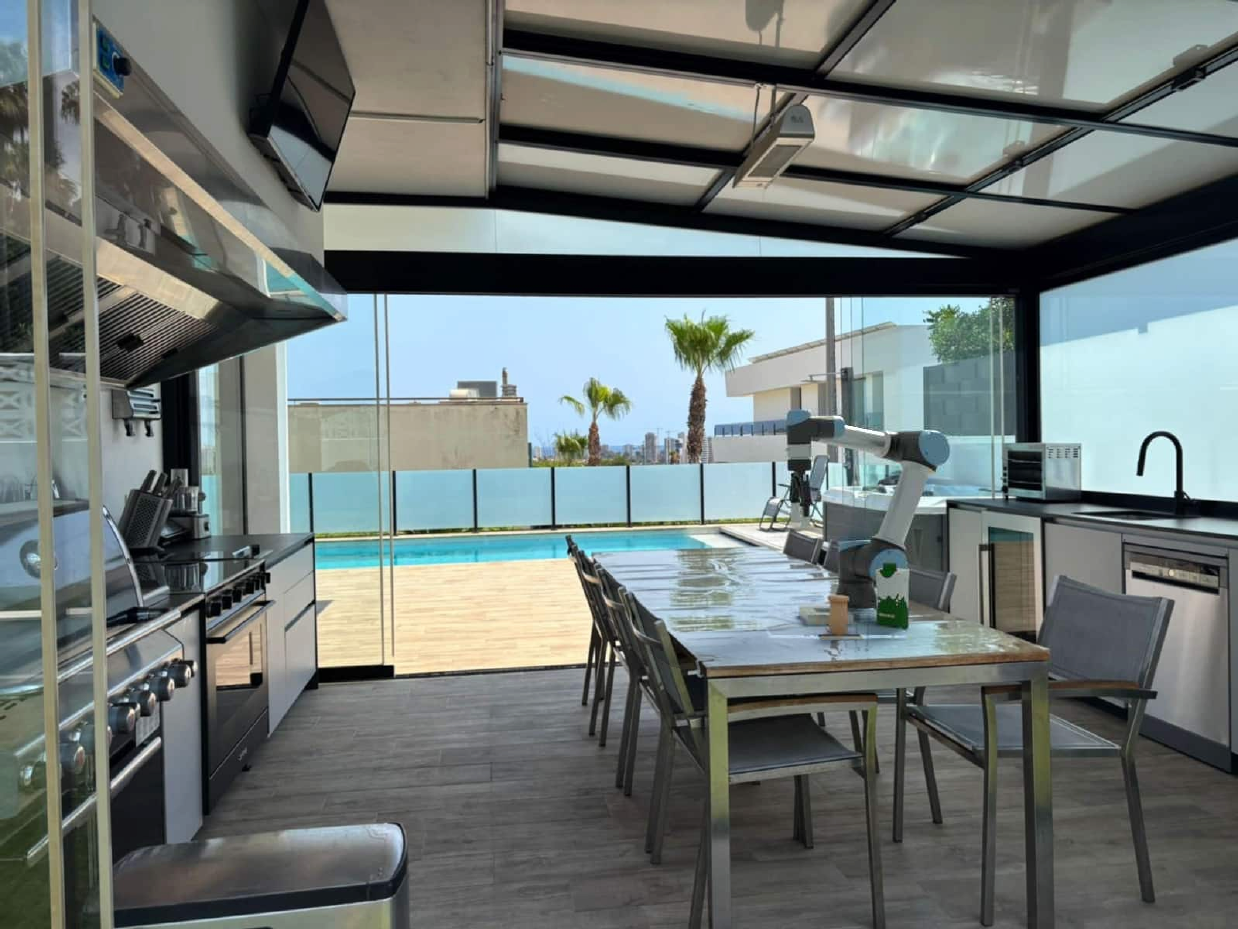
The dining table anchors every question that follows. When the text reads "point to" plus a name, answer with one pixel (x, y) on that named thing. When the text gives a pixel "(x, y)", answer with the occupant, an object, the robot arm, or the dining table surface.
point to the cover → (838, 614)
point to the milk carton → (892, 596)
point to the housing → (819, 615)
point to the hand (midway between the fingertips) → (800, 525)
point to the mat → (840, 637)
